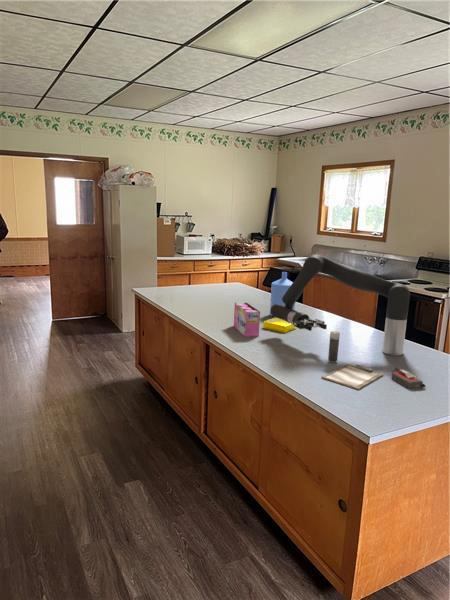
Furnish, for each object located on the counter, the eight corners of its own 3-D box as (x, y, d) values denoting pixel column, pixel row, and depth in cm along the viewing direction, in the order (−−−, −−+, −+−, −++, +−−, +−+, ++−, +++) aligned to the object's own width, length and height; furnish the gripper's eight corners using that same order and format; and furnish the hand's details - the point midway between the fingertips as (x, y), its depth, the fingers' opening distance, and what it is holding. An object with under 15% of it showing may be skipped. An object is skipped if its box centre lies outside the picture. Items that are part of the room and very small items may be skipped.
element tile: (284, 334, 238) (285, 325, 238) (261, 328, 247) (262, 320, 246) (297, 328, 250) (298, 320, 249) (275, 323, 259) (275, 316, 258)
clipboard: (347, 365, 191) (348, 361, 190) (383, 375, 180) (383, 371, 180) (321, 378, 175) (321, 374, 175) (358, 390, 164) (359, 386, 164)
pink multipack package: (232, 325, 251) (233, 302, 249) (245, 324, 253) (246, 302, 251) (245, 337, 229) (246, 311, 226) (259, 336, 231) (260, 311, 228)
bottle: (330, 359, 198) (333, 330, 195) (339, 362, 195) (341, 332, 192) (325, 361, 195) (328, 332, 192) (334, 364, 192) (336, 334, 189)
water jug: (293, 319, 269) (296, 274, 263) (268, 317, 272) (270, 273, 266) (294, 314, 284) (297, 271, 278) (270, 312, 287) (273, 269, 281)
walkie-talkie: (430, 389, 168) (397, 370, 187) (431, 378, 167) (398, 361, 186) (410, 391, 166) (379, 372, 185) (411, 380, 165) (380, 362, 184)
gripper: (286, 312, 212) (306, 321, 198) (310, 311, 218) (331, 319, 204) (285, 327, 214) (305, 337, 200) (309, 325, 220) (330, 334, 206)
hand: (318, 327), depth 202 cm, fingers open, 8 cm apart
